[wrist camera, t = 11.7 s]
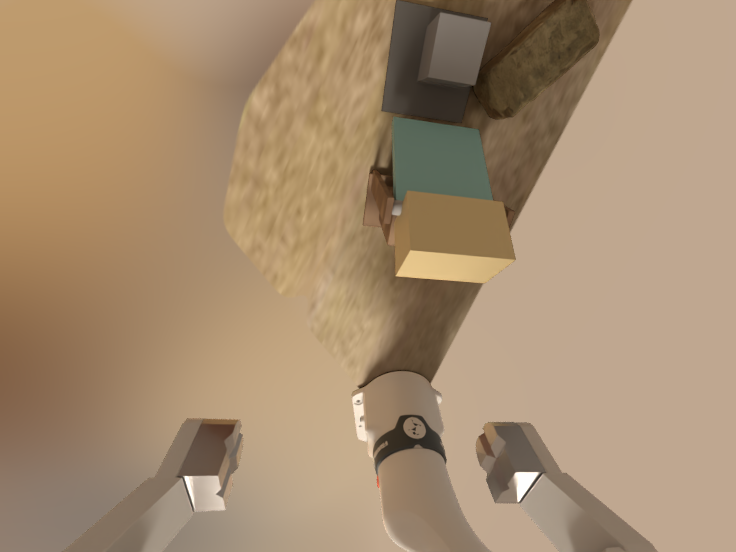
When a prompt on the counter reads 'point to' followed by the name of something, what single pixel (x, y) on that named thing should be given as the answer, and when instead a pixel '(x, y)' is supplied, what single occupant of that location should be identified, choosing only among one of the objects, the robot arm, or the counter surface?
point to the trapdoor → (445, 205)
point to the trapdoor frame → (389, 205)
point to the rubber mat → (405, 64)
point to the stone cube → (453, 51)
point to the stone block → (536, 57)
